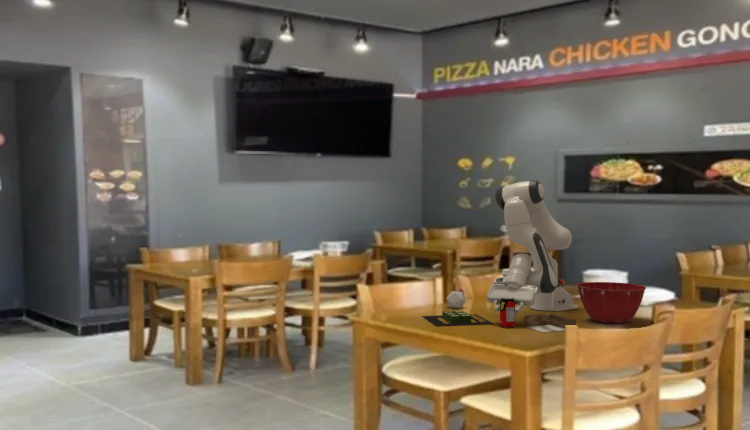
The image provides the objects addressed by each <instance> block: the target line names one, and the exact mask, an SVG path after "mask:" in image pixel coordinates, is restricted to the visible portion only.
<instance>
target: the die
mask: <svg viewBox="0 0 750 430" xmlns="http://www.w3.org/2000/svg"><path fill="white" fill-rule="evenodd" d="M446 302H447V304H448V306H449V309H457V308H459V309H462V307H463V306H464V304H466V298H465V296H464V294H463V291H455V290H454V291H453V290H452V291H451V292H450V293H449V294H448V296H447V297H446Z"/></svg>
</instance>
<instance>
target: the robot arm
mask: <svg viewBox="0 0 750 430" xmlns="http://www.w3.org/2000/svg"><path fill="white" fill-rule="evenodd" d="M494 197H495V202H496V205H497V206H498V208H499V209H501V210H503V213H504V214H503V216H504V225H505V230H506V235H507V237H508V239H509V240H510V241H511V242H512V243H514V244H516V245H518V246H522V247H524V248H526V249H527V251H528V252H529V254H528V253H524V252H523V253H522V252H521V253H517V254H515V255H514V256H513V257H512V260H511V262H510V264H509V268H508V269H509V273H508V274H507V276H505V277H503V276H502V277H496V278H494V279H493V284H492V285H490V287H489V289H488V292H487V293H486V294H487V295H486V299H487V301H488V302H489V303H490V304H494V305H495V306H494V311H495V312H500V300H501V297H511V298H512V297H513V298H514V301H515V314H516V313H518V314H519V313H520V312H521V311H522V310H523V309H524V308H525V306H529V308H530V309H533V310H537V311H549V312H550V311H552V312H562V311H567V310H569V311H570V310H574V309H578V305H577V304H573V303H574V302H573V296H572V295H571V294H570V293H569V292H568V291H567V290H565V288H564V287H562V286H561V285H564V284H566V281H565V279H559V277H558V262H557V260H556V259H555V258H553V257H552V256H551V255H550V253H549V250H550V251H561V250H567V249H568V248H569V247H570V246H571V244H572V241H573V237H572V236H573V235H572V233H571V231H570V229H568V228H566V227H564V226H562V225H561V224H560V223H559V222H557V220H555V219H554V218H553V217H552V215H551V213H550V212H549V210H548V209H547V207H546V203H545V201H544V198H545V188H544V186H543V184H542V183H541V182H540V181H539V180H534V179H533V180H529V181H528V180H527V181H519V182H515V183H511V184H508V185H502V186H500V187H498V188H497V189H496V190H495V196H494ZM532 266H533V267H532ZM531 268H534V271H533V272H532V270H531ZM516 305H517V306H516Z"/></svg>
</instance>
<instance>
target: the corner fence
mask: <svg viewBox="0 0 750 430" xmlns="http://www.w3.org/2000/svg"><path fill="white" fill-rule="evenodd" d="M565 325H576V326H577V319H574V318H570V317H567V316H562V315H558V314H554V313H545V314H533V315H531V314H530V315H525V316H524V327H525V328H526V329H529V330H533V331H535V332H539V333H543V334H545V333H553V332H554V333H555V332H566V331H565Z"/></svg>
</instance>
